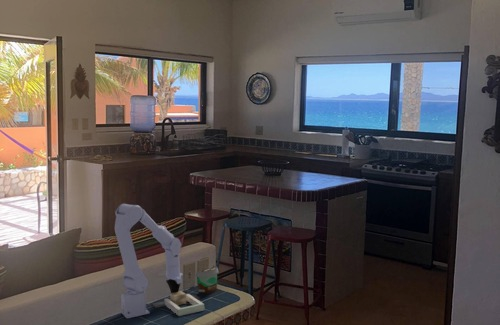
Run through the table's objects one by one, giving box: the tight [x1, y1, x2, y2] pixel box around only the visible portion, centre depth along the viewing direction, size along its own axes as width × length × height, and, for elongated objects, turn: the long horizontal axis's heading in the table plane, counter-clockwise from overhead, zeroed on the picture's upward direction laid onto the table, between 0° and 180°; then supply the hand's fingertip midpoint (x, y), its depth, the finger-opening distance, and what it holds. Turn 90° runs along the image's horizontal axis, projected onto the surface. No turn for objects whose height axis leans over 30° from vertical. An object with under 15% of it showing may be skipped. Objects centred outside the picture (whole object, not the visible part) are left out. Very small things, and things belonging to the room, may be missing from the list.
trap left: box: [151, 301, 167, 309], centre depth 224 cm, size 4×6×1 cm
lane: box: [163, 293, 205, 317], centre depth 219 cm, size 11×16×2 cm, turn 28°
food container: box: [195, 264, 219, 294], centre depth 239 cm, size 12×6×10 cm, turn 143°
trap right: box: [190, 294, 201, 300], centre depth 231 cm, size 4×6×1 cm
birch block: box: [169, 290, 187, 306], centre depth 225 cm, size 5×5×4 cm
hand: (174, 296), depth 229 cm, fingers closed
